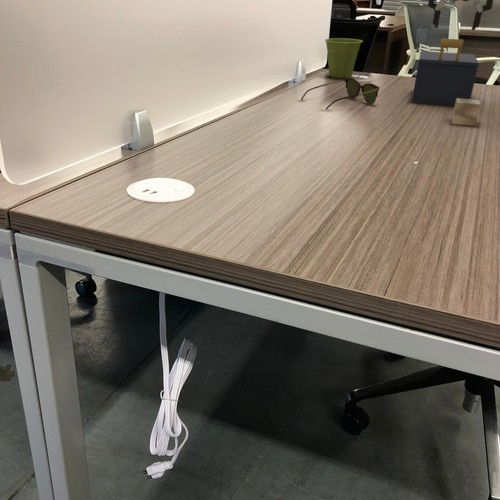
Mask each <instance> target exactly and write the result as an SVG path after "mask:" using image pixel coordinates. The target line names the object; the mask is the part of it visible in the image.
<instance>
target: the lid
mask: <svg viewBox="0 0 500 500" xmlns="http://www.w3.org/2000/svg"><path fill="white" fill-rule="evenodd" d="M440 40H441V41H440V46H439V47H440V48H439V49H440V50H439V51H427V50H421V51H420V54H419V57H418V63H419V62H422V63H437V64H451V65H466V66H478V67H479V66H480V61H479V60H478V59H477V57H476V55H475V54H474V53H461V50H462V48H463V45H464V39H461V38H460V39H459V38H441V39H440ZM445 48H447V49H457V50H456V52H445V51H444V49H445Z"/></svg>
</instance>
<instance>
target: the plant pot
mask: <svg viewBox="0 0 500 500" xmlns="http://www.w3.org/2000/svg"><path fill="white" fill-rule="evenodd" d="M324 42H325V43H326V50H327V63H328V76H329V78H330V77H331V78H333V79H339V80H342V79H345V78H352V76H353V73H354V69H355V63H356V61H357V57H358V53H359V50H360V47H361V44H362V43H363V40H362V39H356V38H342V37H341V38H340V37H339V38H338V37H334V38H333V37H332V38H325V39H324Z"/></svg>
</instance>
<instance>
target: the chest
mask: <svg viewBox="0 0 500 500" xmlns="http://www.w3.org/2000/svg"><path fill="white" fill-rule="evenodd" d="M417 63H418V64H417V69H416V75H415V80H414V87H413V92H412V97H411V103H413V104H421V105H423V104H424V105H434V106H445V107H446V106H447V107H455V102H456V98H461V99H472V94H473V90H474V86H475V81H476V77H477V72H478V68H479V65H478V66H466V65H451V64H437V63H422V62H419V61H418V62H417Z"/></svg>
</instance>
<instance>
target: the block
mask: <svg viewBox="0 0 500 500" xmlns="http://www.w3.org/2000/svg"><path fill="white" fill-rule="evenodd" d="M480 109H481V101H480V100H479V99H472V98H471V99H461V98H456V102H455V106H453V111H452V118H451V122H452V125H458V126H470V127H476V125H477V121H478V119H479V118H478V117H479V113H480Z"/></svg>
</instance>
